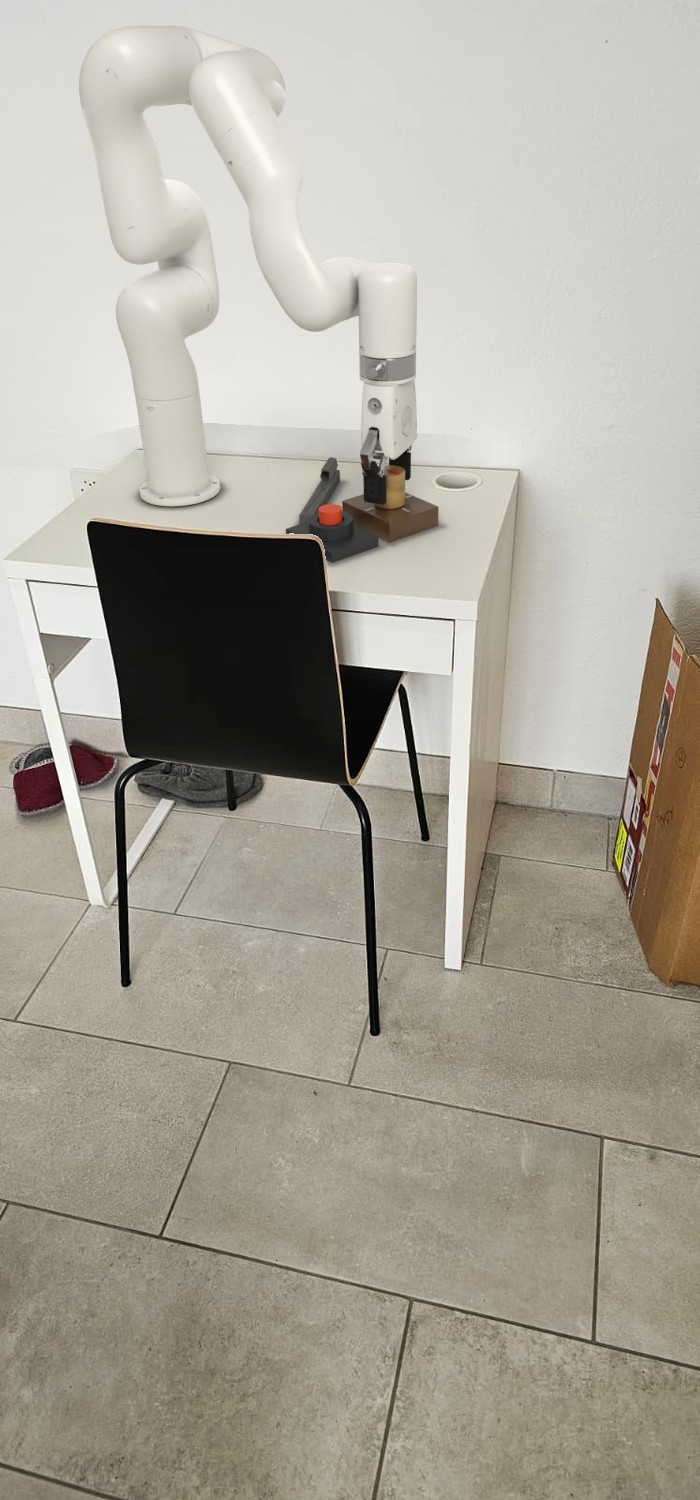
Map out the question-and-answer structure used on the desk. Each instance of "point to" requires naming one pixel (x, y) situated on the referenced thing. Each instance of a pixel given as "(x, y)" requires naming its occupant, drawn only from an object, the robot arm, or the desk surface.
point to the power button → (330, 514)
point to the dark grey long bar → (322, 490)
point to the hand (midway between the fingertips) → (387, 490)
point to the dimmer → (392, 517)
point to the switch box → (338, 537)
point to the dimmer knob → (394, 487)
